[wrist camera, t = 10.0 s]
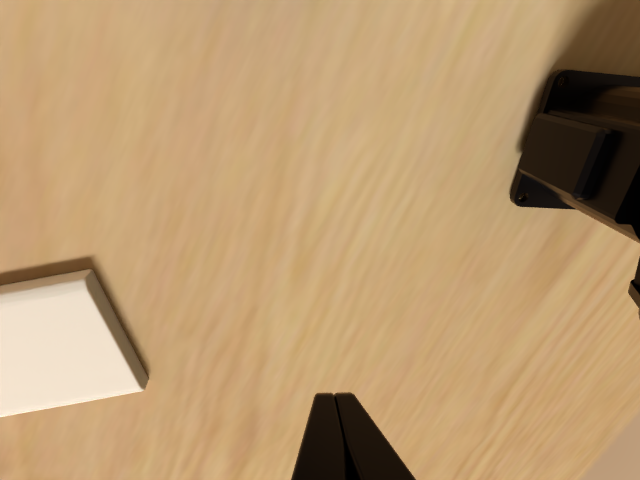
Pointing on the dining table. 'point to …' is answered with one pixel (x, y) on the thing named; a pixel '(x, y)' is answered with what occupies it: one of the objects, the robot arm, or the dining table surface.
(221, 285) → the dining table surface
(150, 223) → the dining table surface
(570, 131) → the robot arm
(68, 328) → the external hard drive
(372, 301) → the dining table surface
